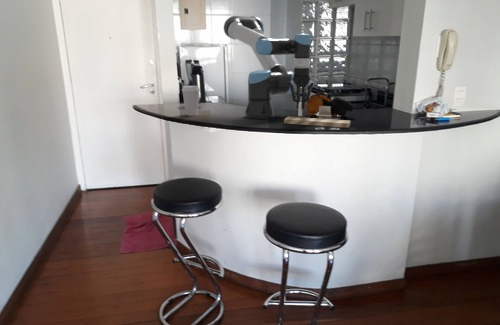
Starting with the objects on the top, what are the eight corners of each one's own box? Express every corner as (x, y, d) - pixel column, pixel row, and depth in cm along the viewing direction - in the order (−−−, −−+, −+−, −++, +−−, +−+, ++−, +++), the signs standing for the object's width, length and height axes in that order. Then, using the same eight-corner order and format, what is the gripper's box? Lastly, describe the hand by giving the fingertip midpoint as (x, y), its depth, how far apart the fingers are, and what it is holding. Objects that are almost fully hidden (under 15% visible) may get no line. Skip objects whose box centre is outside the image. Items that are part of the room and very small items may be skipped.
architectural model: (330, 122, 187) (331, 107, 185) (316, 122, 188) (316, 107, 186) (330, 121, 191) (331, 106, 188) (315, 121, 192) (316, 106, 189)
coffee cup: (189, 116, 200) (187, 87, 196) (179, 114, 207) (177, 86, 203) (204, 114, 206) (203, 86, 202) (194, 112, 213) (193, 85, 209)
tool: (341, 132, 198) (354, 105, 192) (301, 113, 202) (313, 86, 196) (342, 128, 206) (355, 103, 200) (303, 110, 209) (315, 85, 203)
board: (284, 123, 184) (284, 119, 183) (288, 120, 190) (288, 116, 189) (348, 127, 174) (348, 123, 173) (350, 124, 180) (350, 120, 179)
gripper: (286, 67, 186) (285, 116, 193) (313, 68, 182) (311, 117, 189) (290, 66, 193) (289, 113, 200) (316, 67, 188) (314, 115, 195)
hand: (300, 115), depth 194 cm, fingers closed
